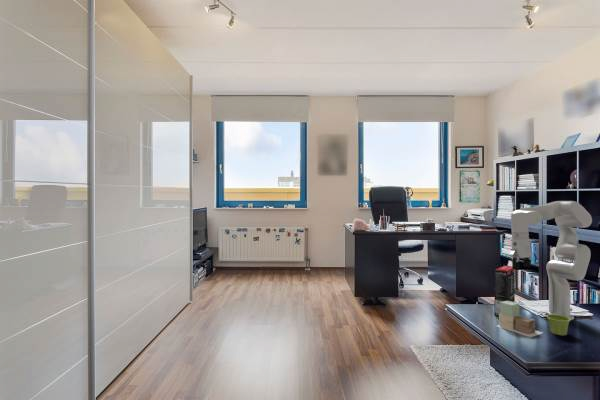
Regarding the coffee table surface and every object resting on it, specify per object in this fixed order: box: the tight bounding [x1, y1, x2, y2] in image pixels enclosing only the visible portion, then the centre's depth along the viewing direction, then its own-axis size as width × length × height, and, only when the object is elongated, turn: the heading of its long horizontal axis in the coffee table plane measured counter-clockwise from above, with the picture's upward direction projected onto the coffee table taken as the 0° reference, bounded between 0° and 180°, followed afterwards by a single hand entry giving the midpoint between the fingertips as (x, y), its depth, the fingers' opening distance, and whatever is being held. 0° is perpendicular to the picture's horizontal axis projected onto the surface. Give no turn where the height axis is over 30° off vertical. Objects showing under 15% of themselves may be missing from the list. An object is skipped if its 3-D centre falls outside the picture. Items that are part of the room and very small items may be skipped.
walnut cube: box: [515, 315, 536, 334], centre depth 170 cm, size 6×6×6 cm
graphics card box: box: [493, 265, 516, 318], centre depth 198 cm, size 17×7×27 cm, turn 136°
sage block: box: [500, 301, 520, 317], centre depth 177 cm, size 6×6×6 cm
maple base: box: [498, 313, 522, 330], centre depth 177 cm, size 7×7×6 cm
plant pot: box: [545, 314, 572, 336], centre depth 168 cm, size 9×9×9 cm
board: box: [496, 324, 544, 338], centre depth 173 cm, size 11×17×1 cm, turn 28°
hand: (521, 268), depth 181 cm, fingers open, 9 cm apart
